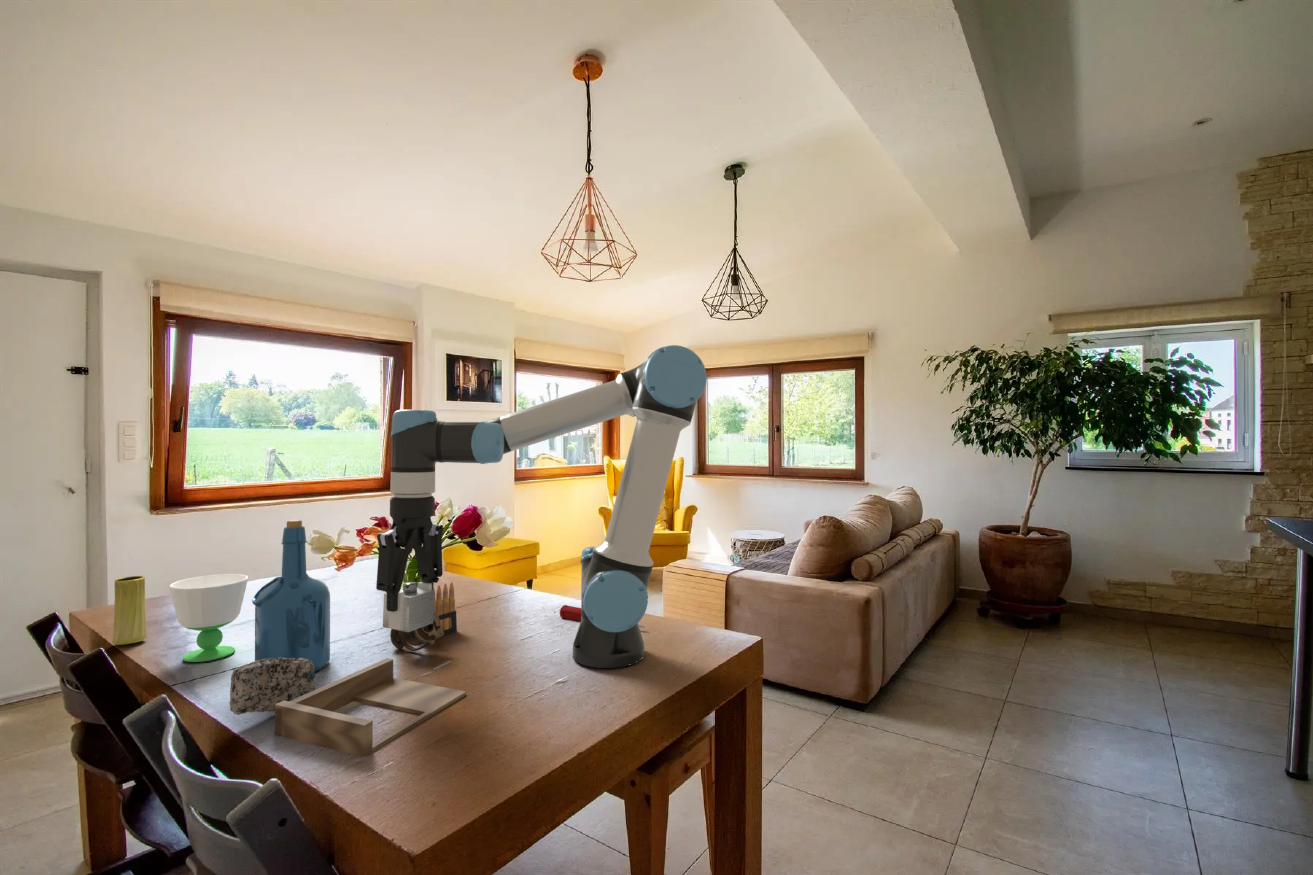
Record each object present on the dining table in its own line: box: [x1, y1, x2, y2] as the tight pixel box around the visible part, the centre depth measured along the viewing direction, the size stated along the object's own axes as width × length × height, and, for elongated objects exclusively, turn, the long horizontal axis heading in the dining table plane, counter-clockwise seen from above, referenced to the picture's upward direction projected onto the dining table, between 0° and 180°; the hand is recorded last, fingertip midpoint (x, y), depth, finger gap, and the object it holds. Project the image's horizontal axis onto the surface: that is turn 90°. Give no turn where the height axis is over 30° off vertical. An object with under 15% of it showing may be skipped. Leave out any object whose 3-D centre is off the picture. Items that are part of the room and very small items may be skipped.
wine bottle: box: [251, 519, 331, 672], centre depth 120 cm, size 14×13×30 cm
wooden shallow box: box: [274, 657, 467, 758], centre depth 100 cm, size 18×22×5 cm
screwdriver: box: [559, 604, 645, 629], centre depth 149 cm, size 4×25×4 cm, turn 60°
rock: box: [229, 657, 316, 716], centre depth 100 cm, size 13×9×4 cm
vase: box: [111, 575, 148, 646], centre depth 136 cm, size 6×6×14 cm
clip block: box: [382, 581, 436, 632], centre depth 108 cm, size 6×6×8 cm
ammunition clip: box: [433, 581, 458, 638], centre depth 140 cm, size 11×2×12 cm, turn 147°
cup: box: [168, 573, 249, 663], centre depth 128 cm, size 14×14×16 cm
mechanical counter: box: [389, 608, 444, 652], centre depth 128 cm, size 7×13×10 cm, turn 78°
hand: (410, 622), depth 107 cm, fingers closed on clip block, 6 cm apart
